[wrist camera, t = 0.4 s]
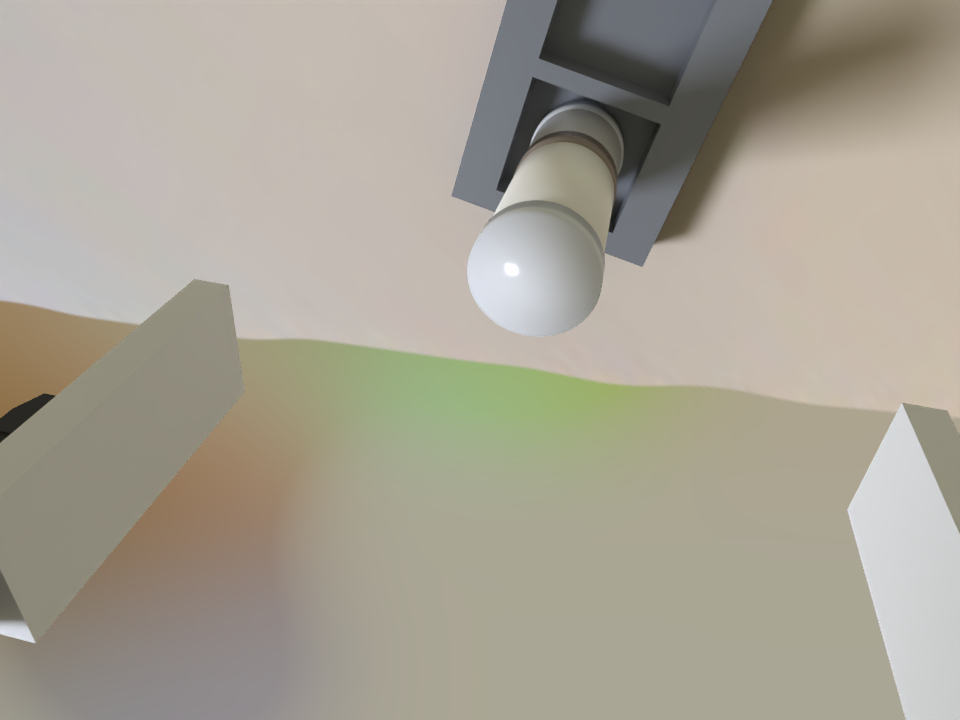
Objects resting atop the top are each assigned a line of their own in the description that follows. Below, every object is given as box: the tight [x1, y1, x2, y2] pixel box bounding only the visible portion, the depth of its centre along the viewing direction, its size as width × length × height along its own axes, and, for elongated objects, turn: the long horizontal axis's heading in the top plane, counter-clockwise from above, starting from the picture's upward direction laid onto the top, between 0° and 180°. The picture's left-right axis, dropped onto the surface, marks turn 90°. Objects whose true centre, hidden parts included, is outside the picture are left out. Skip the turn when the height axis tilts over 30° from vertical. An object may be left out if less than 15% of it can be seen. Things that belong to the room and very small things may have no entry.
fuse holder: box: [452, 0, 773, 267], centre depth 32 cm, size 10×14×2 cm
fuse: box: [467, 100, 625, 337], centre depth 29 cm, size 4×4×14 cm
